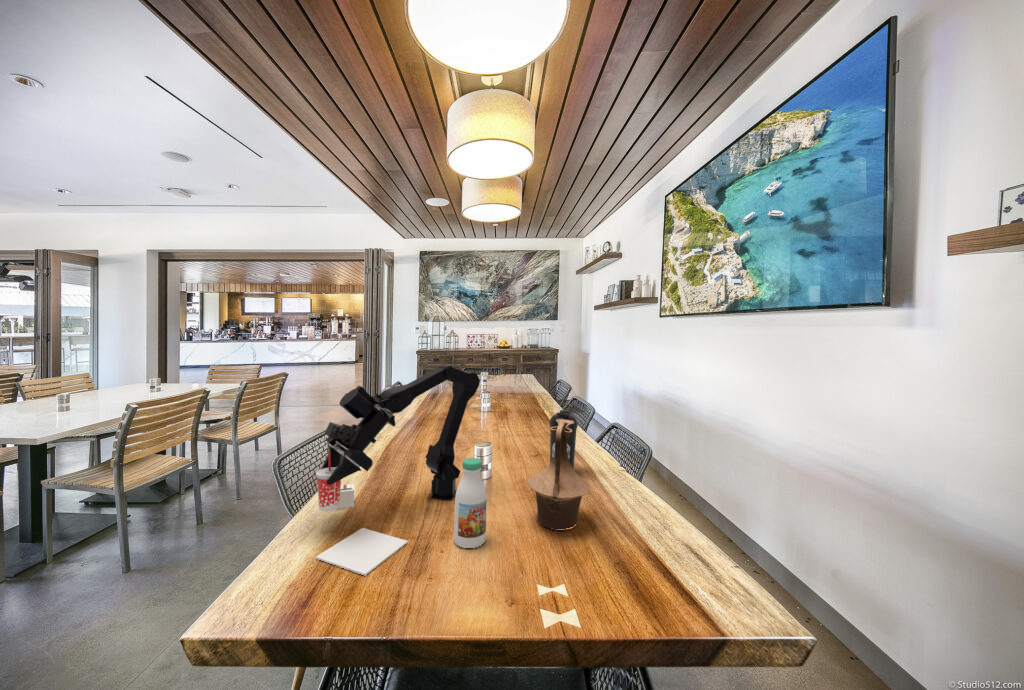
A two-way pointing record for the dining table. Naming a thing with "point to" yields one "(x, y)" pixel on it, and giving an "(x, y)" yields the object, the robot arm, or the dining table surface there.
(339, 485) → the beverage cup
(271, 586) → the dining table surface
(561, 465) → the pitcher
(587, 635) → the dining table surface
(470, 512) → the milk bottle
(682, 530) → the dining table surface
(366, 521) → the dining table surface
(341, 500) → the letter block
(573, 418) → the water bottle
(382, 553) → the mat
